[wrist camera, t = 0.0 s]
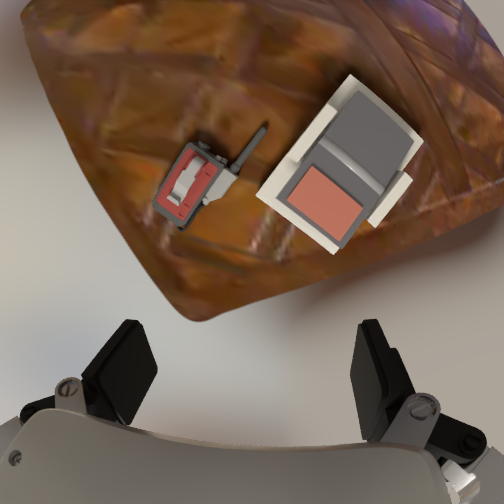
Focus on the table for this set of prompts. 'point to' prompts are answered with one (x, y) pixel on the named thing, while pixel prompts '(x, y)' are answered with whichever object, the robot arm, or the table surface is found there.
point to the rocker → (347, 170)
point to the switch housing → (308, 142)
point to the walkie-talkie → (197, 181)
